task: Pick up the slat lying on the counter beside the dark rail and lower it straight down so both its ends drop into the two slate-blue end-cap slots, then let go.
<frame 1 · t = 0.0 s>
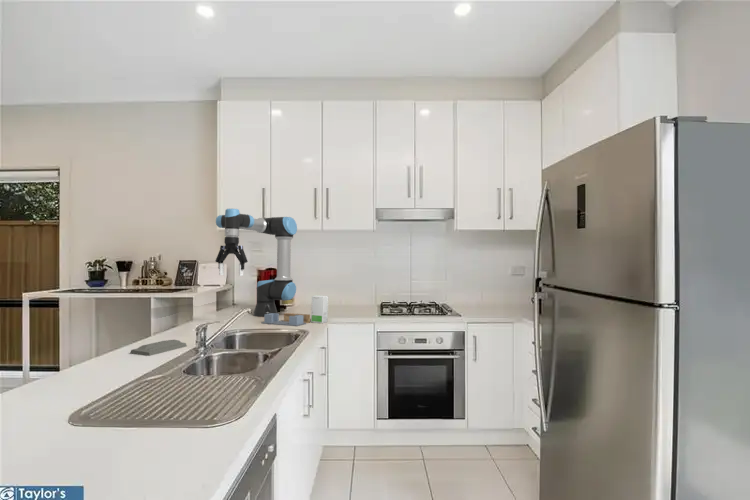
hand: (231, 275, 246), 28 cm above the countertop, tool pointing down, fingers open, 13 cm apart
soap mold: (159, 351, 182), on the countertop
slat: (296, 322, 265), on the countertop
endcap rail: (283, 323, 258), on the countertop
skincare box: (319, 322, 266), on the countertop
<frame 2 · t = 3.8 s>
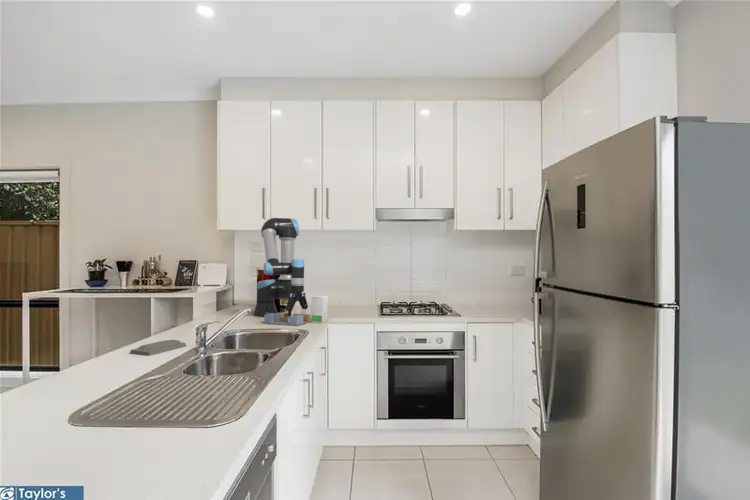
hand: (296, 321, 265), 1 cm above the countertop, tool pointing down, fingers open, 13 cm apart
nothing on the countertop moved.
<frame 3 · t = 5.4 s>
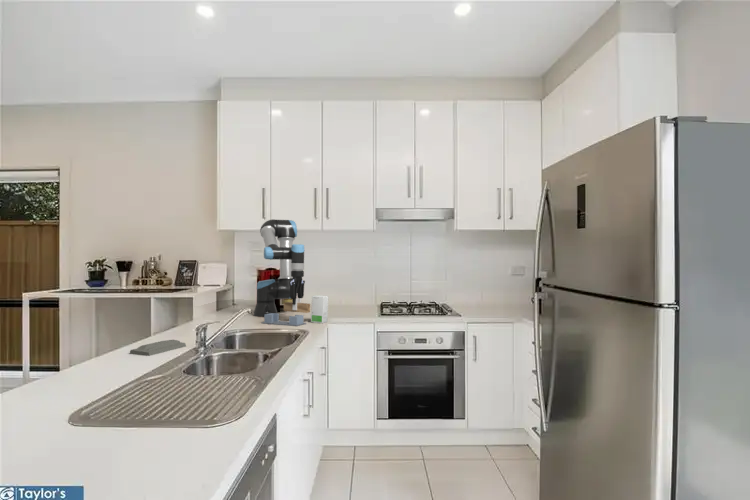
hand: (296, 309, 266), 7 cm above the countertop, tool pointing down, fingers closed on slat, 3 cm apart
slat: (296, 311, 266), point 6 cm above the countertop, touching gripper
everything else where it was.
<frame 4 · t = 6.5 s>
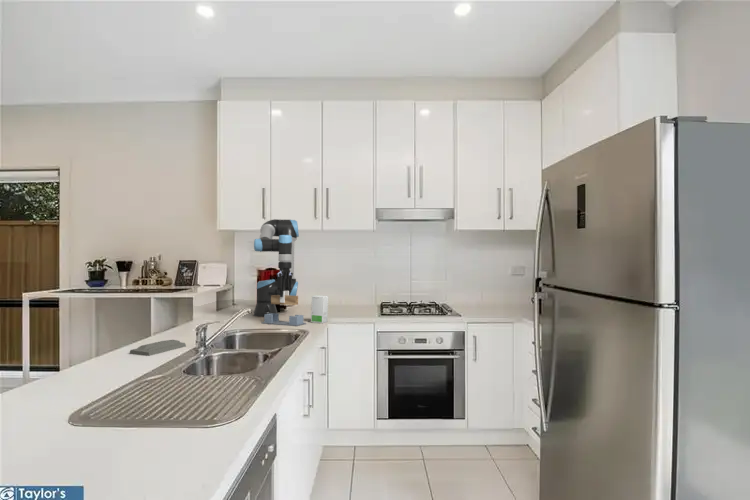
hand: (284, 302, 258), 12 cm above the countertop, tool pointing down, fingers closed on slat, 3 cm apart
slat: (284, 304, 258), point 11 cm above the countertop, touching gripper
everything else where it was.
when the fingers open (1 cm above the countertop, at t = 8.5 s): slat stays where it is, resting on endcap rail.
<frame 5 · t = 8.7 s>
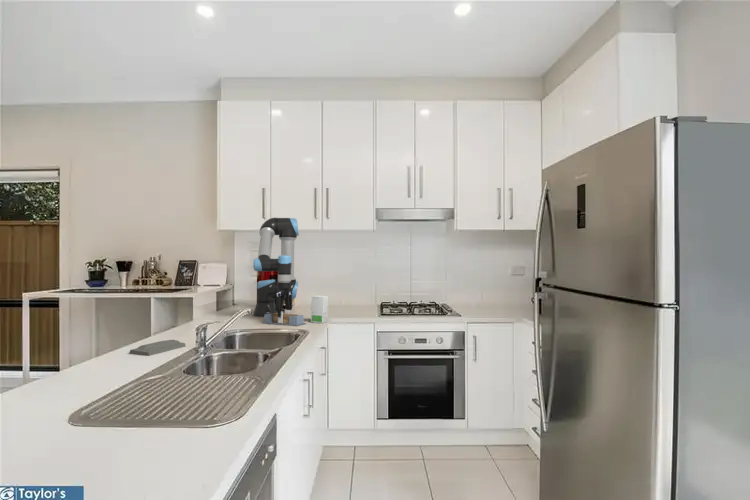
hand: (283, 322, 258), 1 cm above the countertop, tool pointing down, fingers open, 6 cm apart
slat: (283, 322, 258), point 1 cm above the countertop, touching endcap rail
everything else where it was.
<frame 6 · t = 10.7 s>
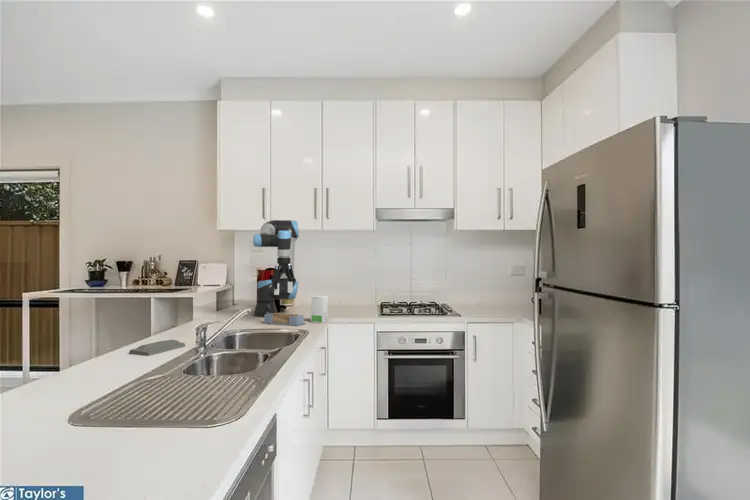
hand: (283, 293, 260), 17 cm above the countertop, tool pointing down, fingers open, 13 cm apart
nothing on the countertop moved.
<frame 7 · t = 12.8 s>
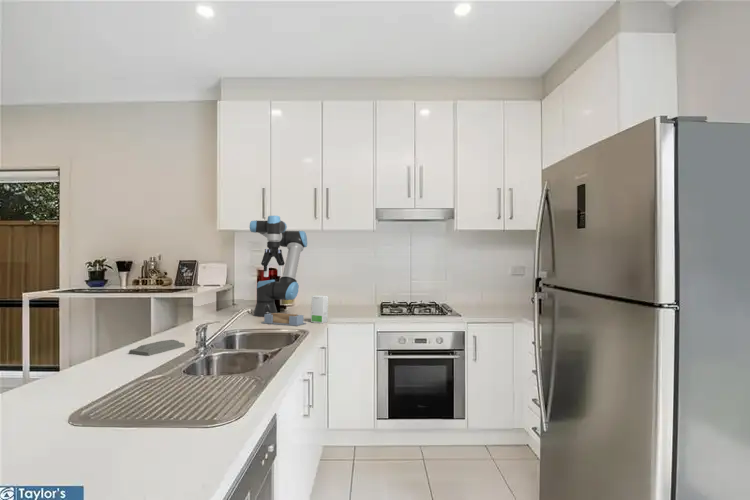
hand: (273, 276, 270), 27 cm above the countertop, tool pointing down, fingers open, 13 cm apart
nothing on the countertop moved.
at the end: slat 0.3 cm off-centre on the endcap rail, point 0.6 cm above the endcap rail's base; slat tilted 0°; the gripper is holding nothing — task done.
